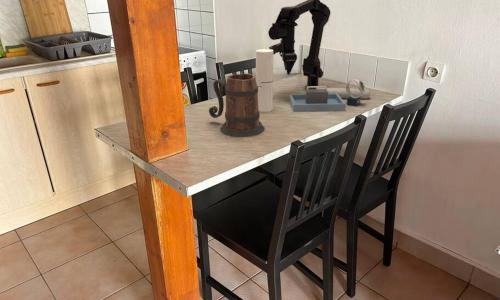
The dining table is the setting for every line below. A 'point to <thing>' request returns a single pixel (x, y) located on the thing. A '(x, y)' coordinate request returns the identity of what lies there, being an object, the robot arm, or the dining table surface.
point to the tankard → (238, 106)
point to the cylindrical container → (264, 79)
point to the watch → (355, 99)
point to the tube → (343, 92)
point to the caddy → (316, 95)
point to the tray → (332, 104)
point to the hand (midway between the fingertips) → (287, 72)
